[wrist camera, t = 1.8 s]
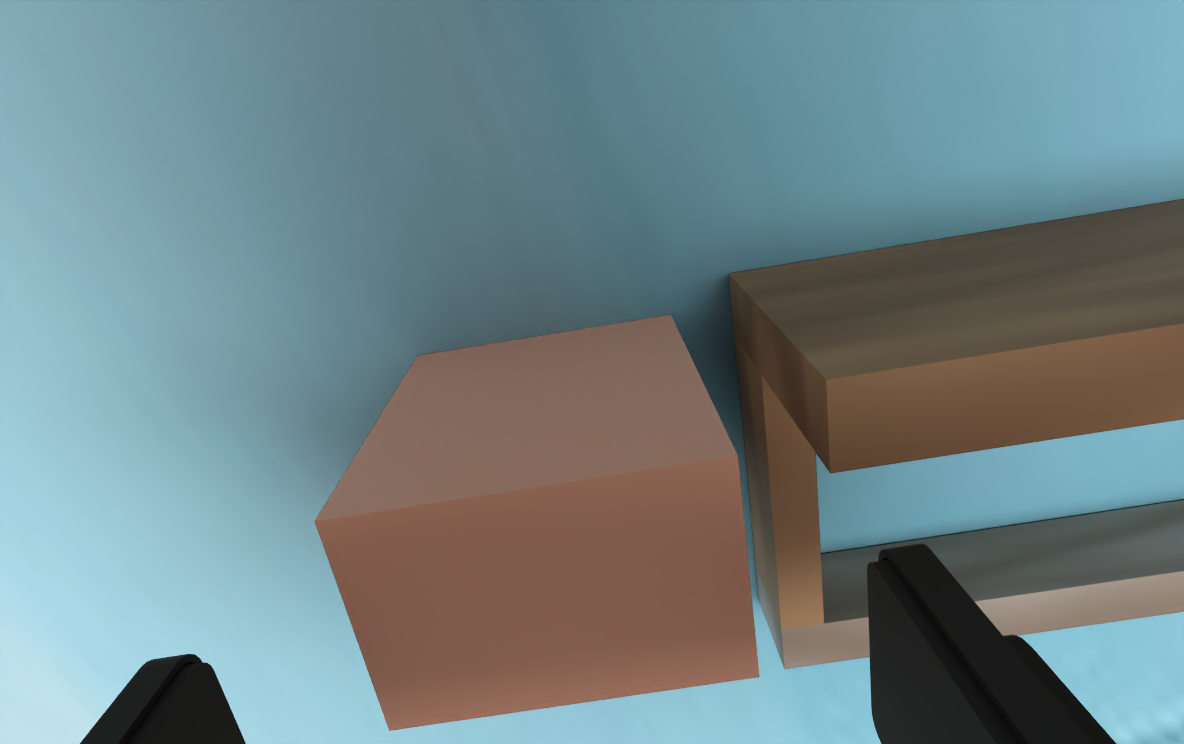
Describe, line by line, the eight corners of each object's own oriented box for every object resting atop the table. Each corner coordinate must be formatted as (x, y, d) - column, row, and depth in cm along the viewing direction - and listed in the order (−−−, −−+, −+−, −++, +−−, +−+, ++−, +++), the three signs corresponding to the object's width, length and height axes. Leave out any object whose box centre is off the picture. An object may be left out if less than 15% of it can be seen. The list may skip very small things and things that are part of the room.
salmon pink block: (417, 354, 16) (314, 521, 10) (670, 314, 16) (737, 455, 10) (463, 527, 18) (402, 766, 12) (693, 491, 18) (762, 714, 11)
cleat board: (728, 273, 16) (826, 379, 10) (1418, 160, 15) (1976, 197, 9) (758, 600, 19) (845, 831, 13) (1326, 515, 19) (1693, 716, 12)
